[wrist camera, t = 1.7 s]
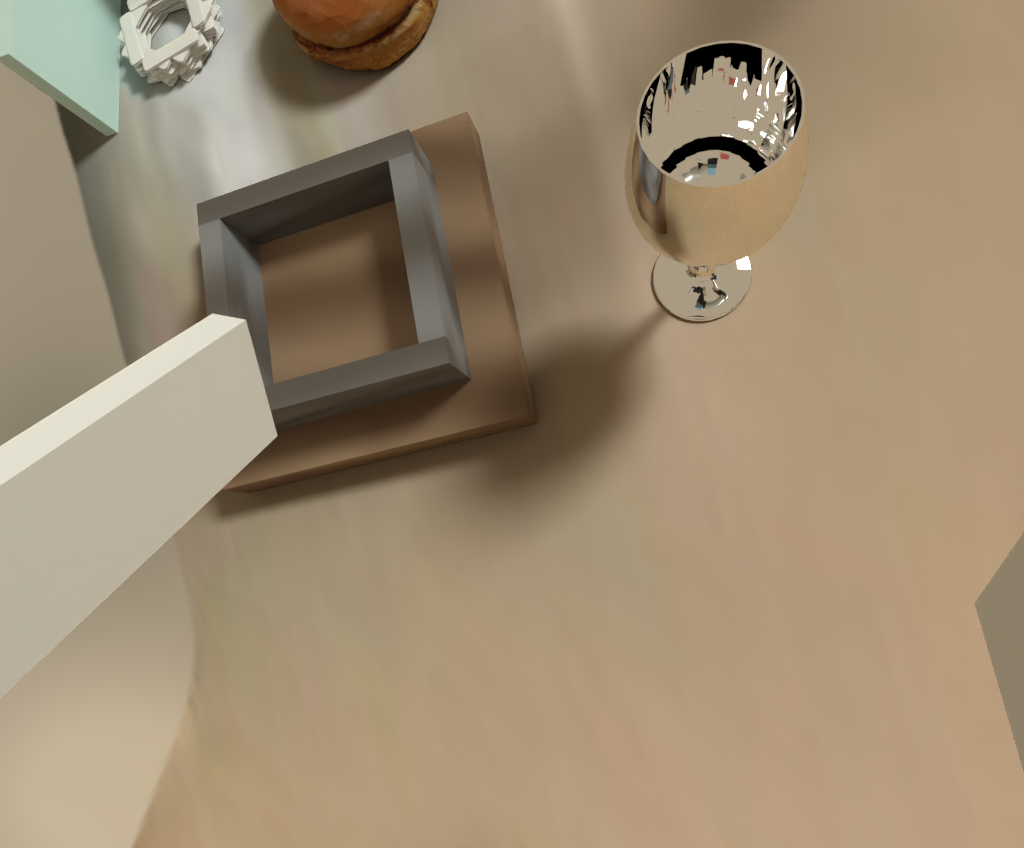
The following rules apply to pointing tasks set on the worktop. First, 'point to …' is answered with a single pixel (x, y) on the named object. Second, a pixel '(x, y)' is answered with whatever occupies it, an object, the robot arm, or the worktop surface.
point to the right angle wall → (101, 48)
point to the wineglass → (715, 170)
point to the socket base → (371, 303)
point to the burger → (357, 29)
